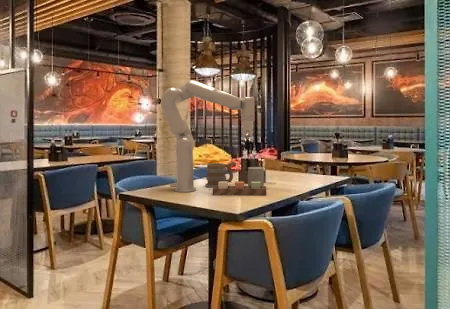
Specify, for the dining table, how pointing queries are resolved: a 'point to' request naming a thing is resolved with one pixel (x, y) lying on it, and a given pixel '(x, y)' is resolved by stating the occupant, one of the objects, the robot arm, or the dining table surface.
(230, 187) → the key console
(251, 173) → the grey stone cylinder
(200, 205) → the dining table surface
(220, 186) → the cream key
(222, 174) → the tankard
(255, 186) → the sage key
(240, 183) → the terracotta key
